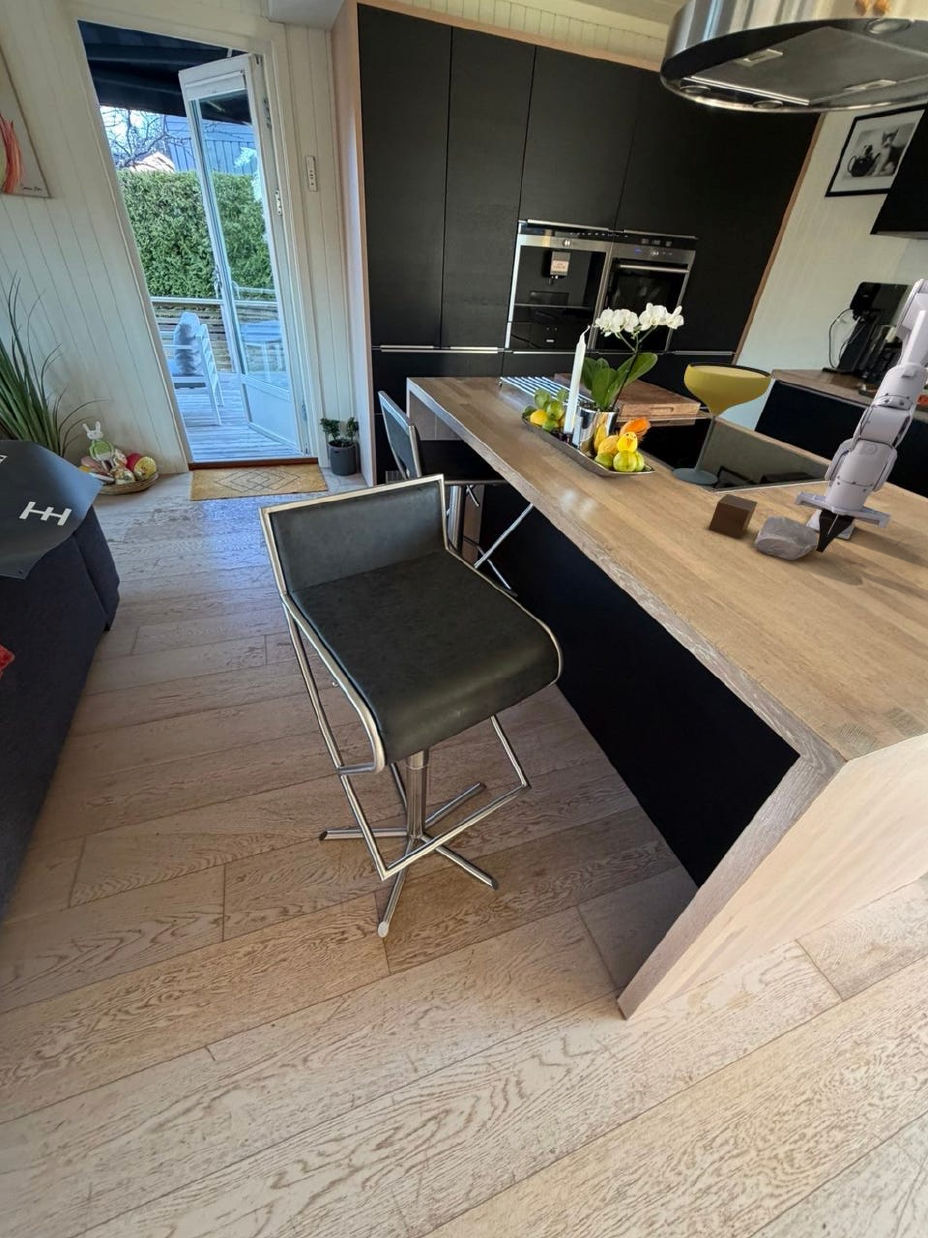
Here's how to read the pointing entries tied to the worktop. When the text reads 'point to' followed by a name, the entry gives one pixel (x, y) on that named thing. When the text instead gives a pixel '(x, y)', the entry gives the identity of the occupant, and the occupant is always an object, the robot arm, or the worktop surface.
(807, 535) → the grey rock
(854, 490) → the robot arm
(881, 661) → the worktop surface
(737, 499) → the walnut cube
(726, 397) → the cocktail glass
